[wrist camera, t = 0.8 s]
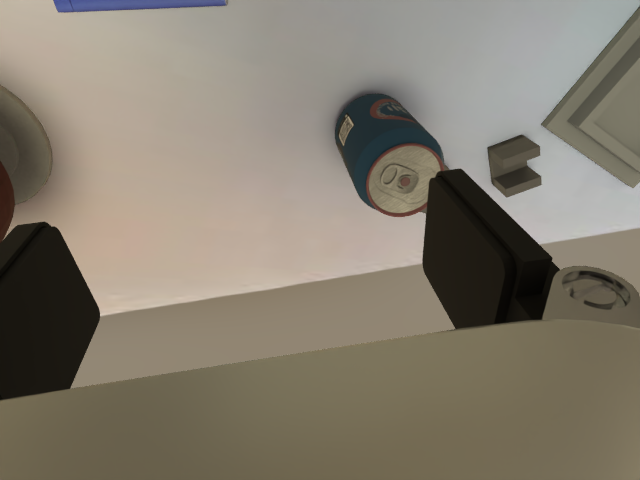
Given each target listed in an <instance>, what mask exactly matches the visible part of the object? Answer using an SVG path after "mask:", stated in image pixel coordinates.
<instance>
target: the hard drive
mask: <svg viewBox="0 0 640 480" xmlns="http://www.w3.org/2000/svg"><path fill="white" fill-rule="evenodd" d="M53 1H54V4H55V6H56V8H57V11H58V12H84V11H109V10H132V9H158V8H180V7H203V6H225V5H227V0H53Z"/></svg>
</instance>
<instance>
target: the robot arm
mask: <svg viewBox="0 0 640 480" xmlns="http://www.w3.org/2000/svg"><path fill="white" fill-rule="evenodd" d="M423 269H424V272H425V275H426V276H427V278H428V280H429V282H430V284H431V285H432V287H433V289H434V291H435V293H436V294H437V296H438V298H439V300H440V302H441V303H442V305H443V307H444V309H445V311H446V312H447V314H448V316H449V318H450V320H451V321H452V323H453V325H454V327H455V329H454V330H447V331H441V332H434V333H427V334H421V335H414V336H407V337H401V338H394V339H387V340H381V341H374V342H367V343H361V344H355V345H348V346H342V347H335V348H328V349H322V350H315V351H309V352H303V353H296V354H290V355H283V356H277V357H270V358H264V359H258V360H251V361H245V362H238V363H232V364H225V365H219V366H213V367H207V368H200V369H193V370H187V371H181V372H174V373H168V374H161V375H155V376H148V377H142V378H135V379H129V380H123V381H116V382H110V383H104V384H97V385H91V386H85V387H78V388H72V389H70V387H71V385H72V383H73V380H74V378H75V375H76V373H77V371H78V369H79V366H80V364H81V362H82V360H83V357H84V355H85V353H86V350H87V348H88V346H89V343H90V341H91V339H92V337H93V334H94V332H95V330H96V327H97V325H98V323H99V319H100V311H99V308H98V305H97V303H96V302H95V300H94V298H93V296H92V294H91V292H90V290H89V288H88V286H87V284H86V282H85V280H84V278H83V276H82V274H81V272H80V270H79V268H78V266H77V264H76V262H75V260H74V258H73V256H72V254H71V252H70V250H69V248H68V246H67V244H66V243H65V241H64V239H63V237H62V235H61V233H60V231H59V230H58V229H57V228H56V227H54V226H53V227H51V226H50V225H49V224H48V223H46V222H38V223H31V224H23V225H17V226H16V227H15V228H14V229H13V230H12V231H11V232H10V233H9V234H8V235H7V236H6V238H5V239H4V240H3V241H2V242H1V243H0V480H640V296H639V293H638V292H637V290H636V289H635V288H634V287H633V286H632V285H631V284H630V283H629V282H627V281H626V280H625V279H623V278H621V277H619V276H618V275H615V274H614V273H612V272H609V271H606V270H602V269H599V268H594V267H588V266H572V267H567V268H563V269H562V270H560V269H559V268H558V267H557V266H556V265H555V264H554V263H553V262H552V257H551V256H550V255H549V254H548V253H547V252H546V251H545V250H544V249H543V248H542V247H541V246H540V245H539V244H538V243H537V242H536V241H535V240H534V239H533V238H532V237H531V236H530V235H529V234H528V233H527V232H526V231H525V230H524V229H523V228H521V227H520V226H519V225H518V224H517V223H516V222H515V221H514V220H513V219H512V218H511V217H510V216H509V215H508V214H507V213H506V212H505V211H504V210H503V209H502V208H501V207H500V206H499V205H498V204H497V203H496V202H495V201H494V200H493V199H492V198H491V197H490V196H489V195H488V194H487V193H486V192H485V191H484V190H483V189H482V188H481V187H479V186H478V185H477V184H476V183H475V182H474V181H473V180H472V179H471V178H470V177H469V176H468V175H467V174H466V173H465V172H464V171H463V170H462V169H453V170H445V171H438V172H437V174H436V176H435V177H434V178H431V179H430V181H429V188H428V200H427V212H426V224H425V237H424V249H423Z"/></svg>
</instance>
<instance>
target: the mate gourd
mask: <svg viewBox="0 0 640 480" xmlns="http://www.w3.org/2000/svg"><path fill="white" fill-rule="evenodd" d="M51 168H52V150H51V147H50V143H49V139H48V137H47V135H46V133H45V131H44V129H43V127H42V125H41V123H40V122H39V121H38V119H37V118H36V116H35V115H34V114H33V112H32V111H31V110H30V109H29V108H28V107H27V106H26V105H25V104H24V103H23V102H22V101H21V100H20V99H19V98H18V97H16V96H15V95H14V94H12V93H11V92H10V91H8V90H7V89H6V88H4V87H3V86H1V85H0V243H1V242H2V241H3V239H4V237H5V235H6V233H7V231H8V229H9V226H10V223H11V220H12V217H13V212H14V207H15V205H16V204H19V203H22V202H24V201H26V200H28V199H29V198H31V197H33V196H34V195H35V194H36V193H37V192H38V191H39V190H40V189H41V188H42V187H43V186H44V185H45V183H46V181H47V179H48V178H49V176H50V172H51Z"/></svg>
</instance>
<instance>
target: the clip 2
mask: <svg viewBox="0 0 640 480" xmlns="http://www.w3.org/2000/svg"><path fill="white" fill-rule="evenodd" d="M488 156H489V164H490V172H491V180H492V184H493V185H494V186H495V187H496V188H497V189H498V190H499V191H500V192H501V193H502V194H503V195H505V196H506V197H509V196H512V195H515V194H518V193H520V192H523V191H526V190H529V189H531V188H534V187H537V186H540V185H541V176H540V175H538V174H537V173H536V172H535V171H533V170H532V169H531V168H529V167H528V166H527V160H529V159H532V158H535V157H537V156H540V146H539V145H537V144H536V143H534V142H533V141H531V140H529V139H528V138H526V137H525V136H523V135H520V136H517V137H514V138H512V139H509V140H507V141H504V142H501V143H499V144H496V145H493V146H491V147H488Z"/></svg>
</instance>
